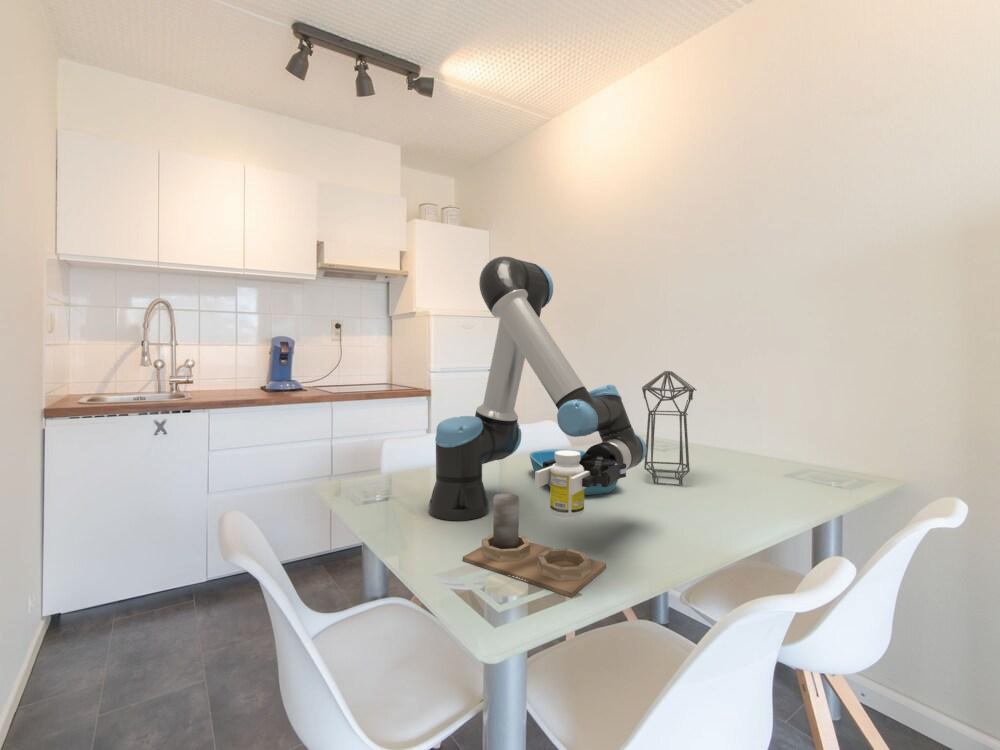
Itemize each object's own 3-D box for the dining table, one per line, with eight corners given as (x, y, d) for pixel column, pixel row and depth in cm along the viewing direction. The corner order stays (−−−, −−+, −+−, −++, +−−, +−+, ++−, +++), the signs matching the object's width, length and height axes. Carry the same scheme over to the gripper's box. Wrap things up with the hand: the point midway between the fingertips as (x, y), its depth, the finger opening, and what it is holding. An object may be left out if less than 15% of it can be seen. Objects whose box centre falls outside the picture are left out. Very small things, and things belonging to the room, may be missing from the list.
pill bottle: (580, 506, 93) (581, 449, 92) (587, 518, 86) (588, 456, 86) (547, 506, 92) (548, 449, 92) (552, 518, 86) (553, 456, 86)
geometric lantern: (640, 485, 149) (641, 371, 148) (641, 474, 164) (642, 370, 163) (696, 489, 144) (697, 371, 144) (691, 477, 159) (692, 370, 159)
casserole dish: (633, 498, 137) (633, 473, 137) (557, 503, 132) (558, 476, 132) (582, 467, 173) (582, 447, 172) (521, 470, 168) (521, 449, 167)
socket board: (462, 560, 95) (462, 500, 94) (504, 538, 106) (504, 484, 105) (571, 597, 81) (572, 527, 80) (606, 567, 92) (607, 505, 92)
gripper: (651, 484, 98) (604, 515, 80) (566, 470, 109) (507, 494, 91) (652, 447, 98) (605, 470, 79) (567, 437, 109) (508, 454, 90)
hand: (553, 482), depth 85 cm, fingers closed on pill bottle, 6 cm apart
